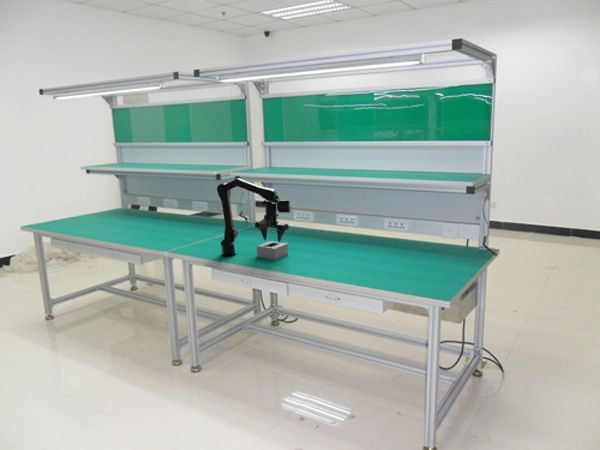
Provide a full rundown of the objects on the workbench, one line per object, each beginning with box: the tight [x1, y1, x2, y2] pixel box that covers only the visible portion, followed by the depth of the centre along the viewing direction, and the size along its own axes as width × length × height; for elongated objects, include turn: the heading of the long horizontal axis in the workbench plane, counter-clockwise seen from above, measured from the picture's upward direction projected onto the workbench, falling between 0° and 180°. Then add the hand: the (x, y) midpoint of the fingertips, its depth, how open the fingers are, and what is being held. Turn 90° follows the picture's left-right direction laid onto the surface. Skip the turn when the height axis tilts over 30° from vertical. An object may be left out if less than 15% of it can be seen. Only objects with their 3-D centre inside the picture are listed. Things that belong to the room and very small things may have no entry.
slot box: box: [256, 240, 289, 261], centre depth 249 cm, size 12×12×6 cm
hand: (272, 241), depth 248 cm, fingers open, 9 cm apart
